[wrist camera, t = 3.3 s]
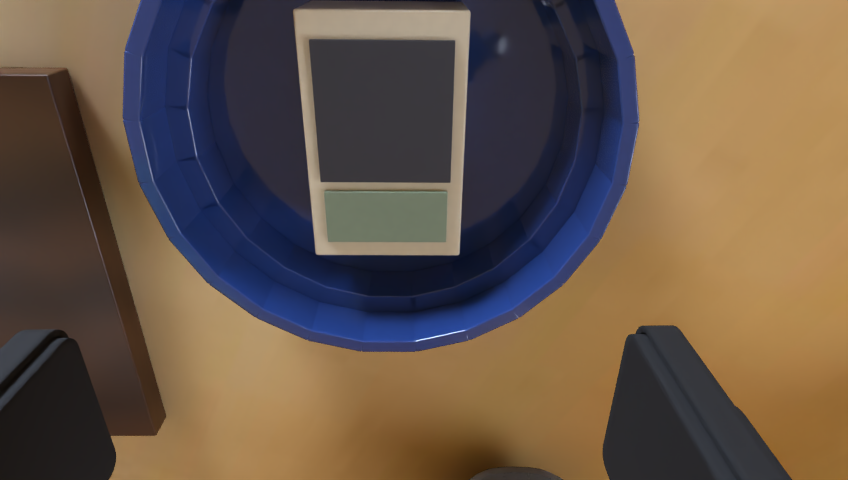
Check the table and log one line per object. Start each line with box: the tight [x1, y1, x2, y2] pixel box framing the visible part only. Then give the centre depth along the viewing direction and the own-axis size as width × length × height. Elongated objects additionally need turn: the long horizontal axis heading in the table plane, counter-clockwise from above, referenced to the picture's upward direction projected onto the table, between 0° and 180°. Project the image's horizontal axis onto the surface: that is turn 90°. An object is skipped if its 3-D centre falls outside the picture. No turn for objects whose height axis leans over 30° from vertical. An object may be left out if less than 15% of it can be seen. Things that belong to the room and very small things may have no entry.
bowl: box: [123, 0, 639, 352], centre depth 22 cm, size 18×18×5 cm
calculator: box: [293, 0, 471, 255], centre depth 22 cm, size 10×6×4 cm, turn 179°
